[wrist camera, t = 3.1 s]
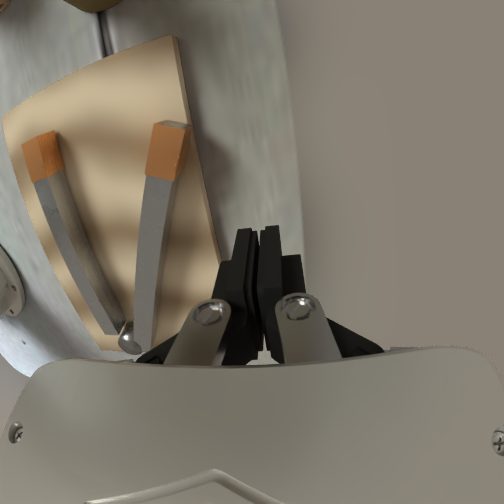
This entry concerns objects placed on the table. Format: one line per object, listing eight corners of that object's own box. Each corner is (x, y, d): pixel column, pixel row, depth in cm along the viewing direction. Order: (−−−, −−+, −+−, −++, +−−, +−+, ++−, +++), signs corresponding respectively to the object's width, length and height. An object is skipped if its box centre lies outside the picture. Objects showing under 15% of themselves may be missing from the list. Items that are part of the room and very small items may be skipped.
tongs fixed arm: (127, 319, 24) (119, 335, 22) (112, 319, 24) (104, 335, 23) (54, 129, 15) (36, 136, 13) (38, 137, 15) (20, 144, 14)
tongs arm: (156, 344, 26) (150, 360, 24) (125, 334, 25) (118, 350, 24) (194, 125, 16) (185, 129, 14) (143, 115, 15) (129, 119, 13)
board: (241, 340, 27) (241, 350, 26) (104, 342, 29) (101, 349, 28) (176, 37, 14) (171, 34, 13) (10, 114, 15) (1, 117, 14)
